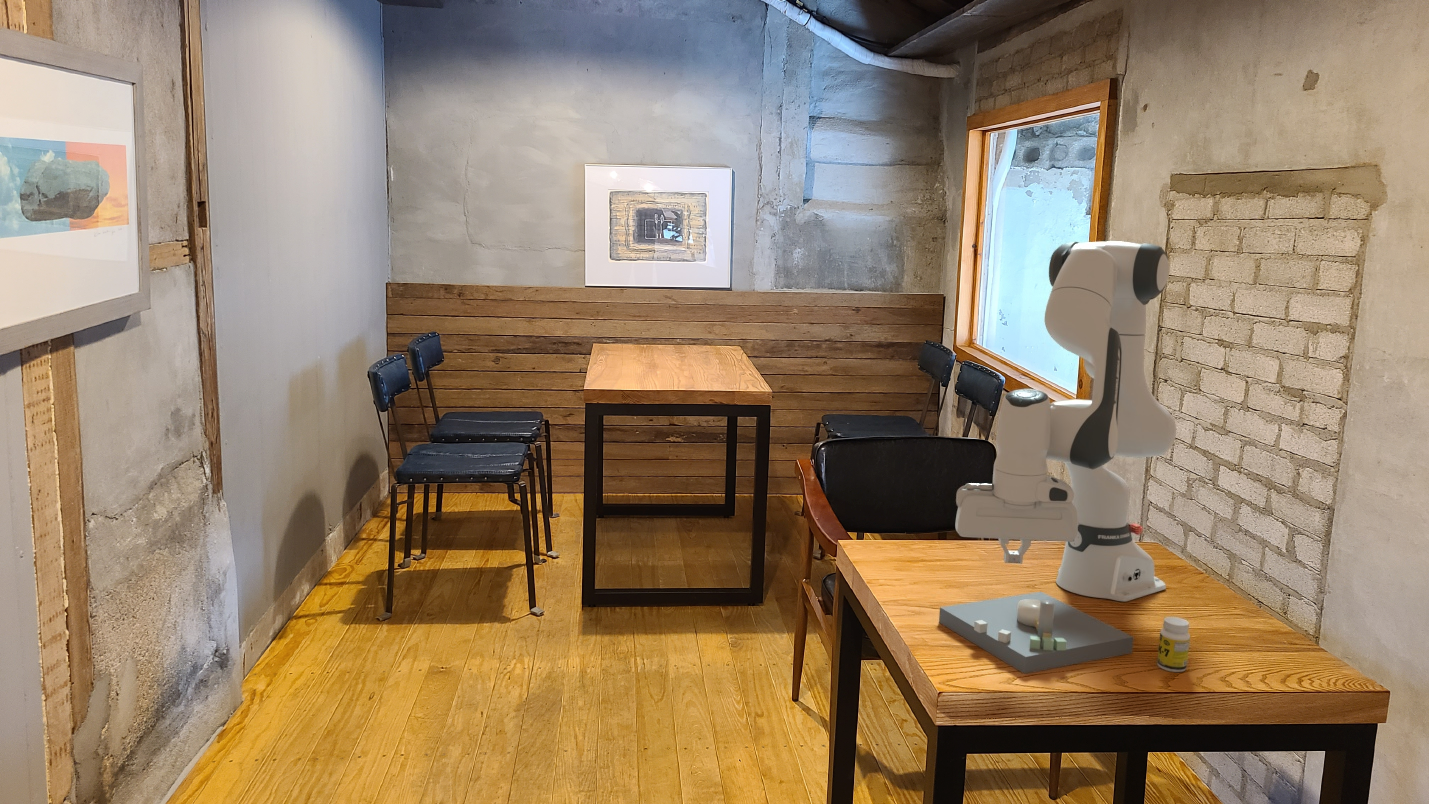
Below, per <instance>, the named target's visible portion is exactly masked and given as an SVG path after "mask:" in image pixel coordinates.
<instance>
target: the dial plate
mask: <svg viewBox="0 0 1429 804" xmlns="http://www.w3.org/2000/svg"><path fill="white" fill-rule="evenodd" d="M1024 599H1036V600H1049V601H1052V602H1054V603H1055V608H1054V619H1053V630H1052V637H1051V638H1047V637H1040V636H1038V631H1037V629H1036V627H1033V626H1028V625H1025V624H1022V623H1020V622H1019V621H1018V620H1017V612H1018V602H1019V601H1020V600H1024ZM938 617H939V618H938V623H939V624H941V625H943V626H944V627H945V628H948V629H949V630H951V631H952V632H954V633H956V634H958V635H959V636H960V637H962V638H964V639H965V640H967V641H969V642H971V643H972V644H974V645H976V646H977V647H978V648H981V649H983V650H984V651H985V652H987V653H989V654H991V655H992V656H993V657H996V658H997V659H999V660H1001V661H1003V662H1004V663H1006V664H1008V665H1009V666H1011V667H1012V668H1014V669H1015V670H1017V671H1019V672H1021V673H1022V674H1024V675H1025V674H1029V673H1036V672H1041V671H1045V670H1051V669H1057V668H1060V667H1061V668H1062V667H1067V666H1071V665H1077V664H1082V663H1087V662H1094V661H1097V660H1103V659H1107V658H1113V657H1119V656H1123V655H1127V654H1128V655H1129V654H1132V653H1133V646H1134V636H1132V635H1130V634H1129V633H1126V632H1124V631H1122V630H1120V629H1119V628H1116V627H1114V626H1112V625H1110V624H1109V623H1105V622H1104V621H1102V620H1100V619H1098V618H1096V617H1094V616H1091V615H1090V614H1087V613H1086V612H1084V611H1081V610H1080V609H1077V608H1075V607H1073V606H1072V605H1069V604H1067V603H1065V602H1063V601H1062V600H1059V599H1057V598H1055V597H1053V596H1051V595H1049V594H1046V593H1045V592H1042V591H1036V592H1031V593H1023V594H1017V595H1016V594H1015V595H1012V596H1011V595H1010V596H1003V597H998V598H991V599H986V600H985V599H984V600H977V601H971V602H966V603H959V604H953V605H952V604H951V605H947V606H946V605H945V606H940V607H939V614H938Z"/></svg>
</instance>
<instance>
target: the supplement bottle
mask: <svg viewBox="0 0 1429 804" xmlns="http://www.w3.org/2000/svg"><path fill="white" fill-rule="evenodd" d="M1189 628H1190V622H1189V621H1188V620H1186V619H1184V618H1182V617H1177V616H1167V617H1164V619H1163V623H1162V628H1161V629H1160V632H1159V641H1158V649H1157V659H1156V665H1157V666H1158V667H1159V668H1160V669H1162V670H1164V671H1167V672H1171V673H1182V672H1185V671H1186V670H1187V666H1188V659H1189V650H1190V648H1189V647H1190V642H1191V636H1190V633H1189V630H1190V629H1189Z"/></svg>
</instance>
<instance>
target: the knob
mask: <svg viewBox="0 0 1429 804" xmlns="http://www.w3.org/2000/svg"><path fill="white" fill-rule="evenodd" d="M1054 608H1055V603H1054V602H1052V601H1049V600H1036V599H1024V600H1020V601H1019V602H1018V612H1017V620H1018V621H1019V622H1020V623H1022V624H1025V625H1028V626H1033V627H1036V629H1037V631H1038V636H1040V637H1047V638H1051V637H1052V630H1053V619H1054Z"/></svg>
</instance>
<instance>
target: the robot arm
mask: <svg viewBox="0 0 1429 804" xmlns="http://www.w3.org/2000/svg"><path fill="white" fill-rule="evenodd" d="M1169 263H1170V262H1169V257H1168V254H1167V252H1166V251H1165V250H1164V249H1163V247H1161V246H1159V245H1156V244H1153V243H1148V242H1147V243H1146V242H1143V243H1137V242H1130V241H1119V240H1108V241H1092V242H1091V241H1089V242H1088V241H1087V242H1078V241H1072V242H1067V243H1063V244H1061V245H1059V246H1058V247H1057V248H1056V249H1055V250H1054V251H1053V252H1052V254H1051V256H1050V260H1049V263H1048V264H1049V266H1048V278H1049V279H1048V280H1049V284H1050V285H1051V287H1052V289H1051V291H1050V294H1049V297H1048V301H1047V304H1046V305H1045V307H1046V308H1045V313H1044V325H1045V329H1046V332H1047V333H1048V334H1049V336H1050V338H1052V340H1053V341H1054V342H1055V343H1057V344H1058V345H1059V346H1060V347H1062V348H1063V350H1066V351H1068V352H1069V353H1072V354H1074V355H1076V356H1077V357H1080V358H1082V359H1083V367H1084V370H1085V372H1086V374H1087V375H1089V377H1090V378H1092V379H1093V384H1092V386H1093V387H1092V394H1091V395H1092V397H1091V399H1080V398H1073V399H1063V400H1056V401H1052V402H1051V399H1050V396H1049V395H1048V394H1047V393H1045V392H1044V391H1041V390H1038V389H1036V388H1035V389H1034V388H1021V389H1020V388H1019V389H1014V390H1011V391H1009V392H1007V393H1006V394H1005V395H1004V396H1003V399H1002V400H1001V405H1000V409H999V415H998V419H997V426H996V435H995V444H996V445H995V446H996V449H997V451H996V458H995V460H994V464H993V472H992V473H993V474H992V483H974V482H973V483H972V482H971V483H969V482H967V483H965V485H962V486H960V487H959V488H958V489H957V491H956V494H955V495H956V496H955V497H956V498H955V502H956V503H955V504H956V506H957V511H956V517H955V525H954V526H955V530H956V533H957V534H958V535H959V536H960V537H962V538H980V539H998V542H999V544H1000V546H1001V548H1002V550H1003V561H1004V563H1005V564H1021V565H1022V564H1023V560H1024V559H1023V558H1024V555H1025V554H1026V553H1027V551H1029V548H1030V547H1031V546H1032V544H1031V543H1032V541H1045V542H1065V545H1064V551H1063V555H1062V559H1061V565H1060V567H1058V572H1057V574H1058V575H1057V576H1056V579H1055V583H1056V584H1057V586H1059V587H1060V588H1062V589H1064V590H1065V591H1068V592H1071V593H1074V594H1077V595H1080V596H1084V597H1091V598H1099V599H1108V600H1113V601H1117V602H1129V601H1132V600H1135V599H1138V598H1141V597H1145V596H1147V595H1152V594H1155V593H1157V592H1160V591H1163V590H1166V589H1167V587H1166V583H1165V581H1163V580H1161V579H1160V578H1158V577H1157V576H1155V562H1154V560H1153V558H1152V557H1151V555H1149V553H1147V552H1146V551H1145V550H1144V549H1143V548H1141V547H1140V546H1139V545H1138V544H1137V543H1136V542H1135V541H1134V540H1133V536H1132V534H1134V535H1137V536H1140V535H1142V533H1143V529H1144V528H1143V526H1142V525H1140V524H1137V523H1131V524H1130V523H1129V522H1128V519H1129V518H1128V516H1129V507H1130V506H1129V505H1130V496H1131V491H1130V487H1129V485H1128V483H1127V481H1126V480H1124V478H1122V476H1120V475H1118V474H1117V473H1115V472H1113V471H1111V470H1109V469H1107V467H1104V465H1106V464H1107V463H1109V462H1110V461H1111V460H1113V459H1114V458H1115V457H1122V458H1124V457H1125V458H1136V459H1142V458H1150V457H1152V458H1153V457H1160V456H1164V455H1165V454H1166V453H1167V452H1168V451H1170V449H1171V448H1172V447H1173V444H1174V443H1175V440H1176V437H1177V427H1176V426H1177V425H1176V422H1175V419H1174V416H1173V415H1172V413H1170V412H1169V410H1168V409H1166V408H1165V407H1164V406H1163V405H1162V404H1161V403H1160V402H1159V401H1158V400H1157V399H1156V398H1155V396H1154V395H1153V394H1152V392H1151V390H1150V388H1149V386H1148V383H1147V380H1146V375H1145V360H1144V359H1145V344H1146V343H1145V342H1146V333H1147V332H1146V331H1147V330H1146V329H1147V305H1149V303H1150V301H1151V300H1154V299H1156V298H1157V297H1158V296H1159V295H1160V294H1162V293H1163V292H1164V290H1165V288H1166V285H1167V282H1168V280H1169V275H1170V264H1169ZM1047 460H1050V461H1056V462H1062V463H1064V464H1065V467H1066V469H1067V471H1068V474H1069V477H1070V483H1071V485H1070V484H1069V483H1067V482H1066V481H1065V480H1062V479H1060V478H1058V477H1055V476H1051V475H1049V474H1048V464H1047ZM1010 540H1020V543H1021V545H1019V548H1018V549H1017V550H1009V549H1008V548H1007V546H1006V545H1009V544H1010Z"/></svg>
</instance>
